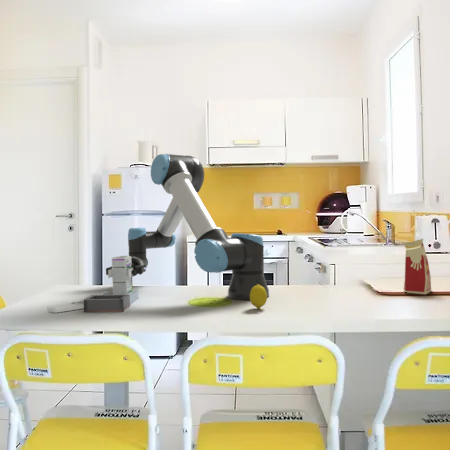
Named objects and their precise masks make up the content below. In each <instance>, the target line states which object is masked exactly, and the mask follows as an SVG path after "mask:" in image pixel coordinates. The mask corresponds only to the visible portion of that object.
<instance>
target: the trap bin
mask: <svg viewBox="0 0 450 450" xmlns="http://www.w3.org/2000/svg"><path fill="white" fill-rule="evenodd" d="M130 307H131V305H130V295H113V294H108V295H99V294H92V295H90V296H88V297H86V298H84V299H83V313H111V312H112V313H116V312H117V313H119V312H120V313H123V312H125V311H126V310H127V309H129V308H130Z"/></svg>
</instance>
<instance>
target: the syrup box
mask: <svg viewBox="0 0 450 450" xmlns="http://www.w3.org/2000/svg"><path fill="white" fill-rule="evenodd" d="M111 266H112V277H111V278H112V295H129V294H131V293H132V292H133V288H134V287H133V277H132V276H131V277H127V270H128V269H130V268H132V261H131V256H129V255H118V256H114V257H111Z"/></svg>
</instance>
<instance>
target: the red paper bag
mask: <svg viewBox="0 0 450 450" xmlns="http://www.w3.org/2000/svg"><path fill="white" fill-rule="evenodd" d="M423 241H424V238H419V239H417V240H414V241H406V242H402V244H403V245H404V247H405V259H404V261H405V264H404V281H403V282H404V283H403V290H404V291H405V292H407V293H406V294H414V295H415V294H417V295H427V294H429V293H430V292H431V291H432V280H431V279H432V277H431V271H430V264H429V261H428V256H427V251H426V249H425V245H424V242H423ZM404 291H403V292H404ZM429 291H430V292H429ZM405 292H404V293H405Z"/></svg>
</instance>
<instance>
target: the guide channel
mask: <svg viewBox="0 0 450 450" xmlns="http://www.w3.org/2000/svg"><path fill="white" fill-rule="evenodd" d="M98 295H109V291H108V290H104V291H102V292H100V293H98ZM129 295H130V306H131V305H132V304H133V303H135V302H136V301H137V300H138V299H139V290H134V291H133V292H132V293H131V294H129Z"/></svg>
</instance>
